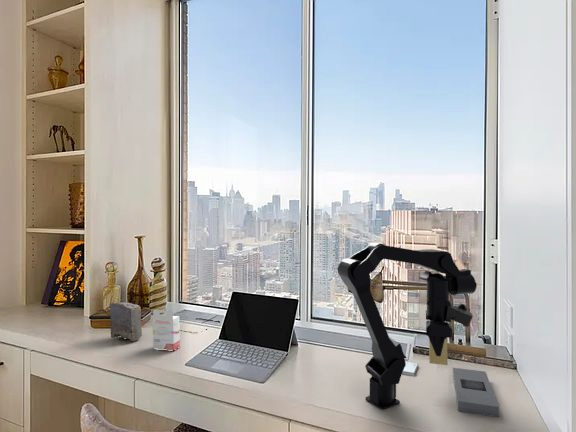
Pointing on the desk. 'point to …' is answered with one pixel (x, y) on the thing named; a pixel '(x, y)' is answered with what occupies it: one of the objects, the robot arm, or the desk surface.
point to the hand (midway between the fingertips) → (438, 352)
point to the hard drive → (410, 369)
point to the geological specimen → (125, 320)
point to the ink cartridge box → (166, 330)
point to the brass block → (438, 359)
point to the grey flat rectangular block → (474, 392)
